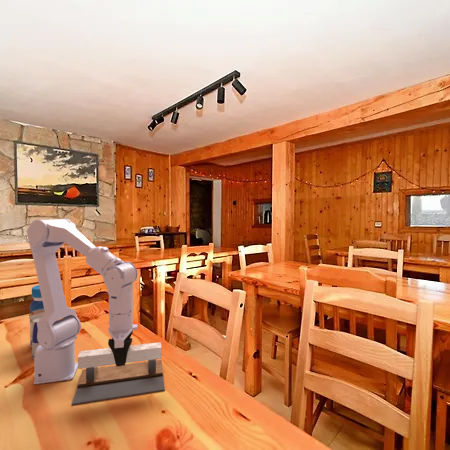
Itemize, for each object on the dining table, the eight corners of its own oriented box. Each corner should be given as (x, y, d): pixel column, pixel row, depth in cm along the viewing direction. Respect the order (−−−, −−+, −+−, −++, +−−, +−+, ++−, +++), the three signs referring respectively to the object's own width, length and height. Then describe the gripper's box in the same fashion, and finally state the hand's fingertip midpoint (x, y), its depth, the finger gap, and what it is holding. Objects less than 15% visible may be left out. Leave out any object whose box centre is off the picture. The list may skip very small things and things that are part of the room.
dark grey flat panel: (71, 405, 68) (71, 403, 68) (77, 389, 74) (77, 388, 74) (164, 390, 75) (164, 389, 75) (163, 377, 80) (163, 375, 80)
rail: (77, 369, 70) (77, 357, 69) (80, 362, 72) (80, 351, 72) (161, 358, 75) (161, 347, 75) (160, 352, 78) (160, 342, 78)
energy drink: (42, 361, 87) (41, 323, 86) (27, 359, 88) (27, 321, 87) (56, 352, 92) (55, 316, 91) (42, 350, 93) (41, 314, 92)
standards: (77, 389, 74) (77, 366, 74) (82, 373, 81) (82, 352, 81) (163, 376, 81) (163, 355, 80) (161, 363, 87) (161, 343, 87)
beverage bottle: (64, 338, 102) (63, 283, 100) (47, 350, 93) (46, 290, 92) (42, 336, 103) (41, 282, 101) (23, 348, 94) (22, 289, 93)
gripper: (137, 320, 67) (136, 375, 68) (137, 300, 81) (137, 346, 82) (104, 322, 65) (105, 379, 66) (111, 302, 79) (111, 349, 80)
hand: (121, 361), depth 74 cm, fingers closed on rail, 3 cm apart
